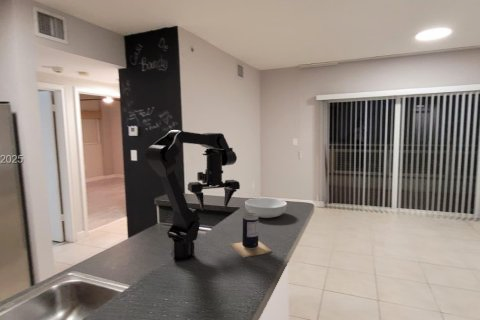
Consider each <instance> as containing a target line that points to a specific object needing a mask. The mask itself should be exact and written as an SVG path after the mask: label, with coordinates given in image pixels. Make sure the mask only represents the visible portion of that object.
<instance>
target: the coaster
mask: <svg viewBox="0 0 480 320" xmlns="http://www.w3.org/2000/svg"><path fill="white" fill-rule="evenodd" d="M230 247H231V248H233V250H235V251H236V252H237V253H238V254H239V255H240V256H241V257H242V258H247V257H252V256H258V255H264V254H269V253H272V252H273V251H272V249H271V248H269V247H268V246H266V245H265V244H264V243H262V242H261V241H260V240H258V246H257V247H256V248H255V249H252V250H250V249H246V248H245V247H244V246H243V245H242V241H241V242H235V243H230Z"/></svg>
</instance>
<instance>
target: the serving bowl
mask: <svg viewBox="0 0 480 320" xmlns="http://www.w3.org/2000/svg"><path fill="white" fill-rule="evenodd" d="M244 204H245V206H244V207H245V209H246V211H248V212H247V213H256V214H258V218H261V219H262V218H263V219H272V218H276V217H279V216H281V215H283V214H284V213H285V212H286V210H287V207H288V206H287V205H288V203H287V201H285V200H283V199H278V198H273V197H256V198H250V199H247V200H245V201H244Z"/></svg>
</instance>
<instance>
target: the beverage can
mask: <svg viewBox="0 0 480 320" xmlns="http://www.w3.org/2000/svg"><path fill="white" fill-rule="evenodd" d="M259 223H260V217H258V214H256V213H249V212H245V213H244V214H243V217H242V241H241V242H242V245H243V246H244V247H245V248H246V249H250V250H252V249H255V248H256V247H257V246H258V241H259V232H260V231H259V229H260V225H259Z"/></svg>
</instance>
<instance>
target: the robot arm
mask: <svg viewBox="0 0 480 320" xmlns="http://www.w3.org/2000/svg"><path fill="white" fill-rule="evenodd" d="M183 144H192V145H199V146H200V147H203V148H205V150H204V151H203V152H202V155H203V156H206V168H205V172H203V171H198V172H197V175H196V176H197V178H196V179H197V181H192V182H191V181H189V182H188V184H187V190H188V191H189V192H190V193H192V194H194V195H195V196H196V199H197V201H198V204H199V206H200V210H202V211H203V210H204V204H205V203H204V192H202V191H203V190H208V189H220V188H221V189H222V188H223V189H224V201H223V203H224V205H223V206H224V208H225V209H226V208H227V207H228V205H229V203H230V201H231V199H232V197H233V195H234V194H235V192H237V190H240V187H241V184H240V182H239V181H237V180H235V179H225V181H223V174H224V170H223V167H225V166H231V165H232V166H233V165H234V164H235V163H236V162H237V159H238V157H237V154H236V152H235V151H234V149H233V147H230V146H229V144H228V142H227V140H226V137H225V135H224V133H221V132H218V133H216V132H205V133H197V132H191V131H184V130H181V129H173V130H172V129H171V130H170V131H168V132H167V133H166V134H165V135H164V136H162V137H161V138H159V139H158V140H156V141H155V142H154V143H153V144H152V145H150V146H149V147H147V149H146V151H145V154H144V155H145V159H146V162H147V163H148V165H149V166H150V167H151V168H150V169H152V170H153V171H154V172H155V173H156V174H157V175H158V177H159V178H160V180H161V183H162V186H163V188H164V191H165V193H166V195H167V198H168V202H169V204H170V206H171V209H172V211H173V215H172V224H171V226H170V227H169V229H168V230H167V233H166V234H167V237H168V239H171V250H172V252H171V253H170V255H171V257H172V259H173V261H174V262H178V263H179V262H182V261H183V262H184V261H189V260H193V259H195V242H194V241H196V240H197V237H198V234H199V230H200V226H201V222H200V220H201V218H200V217H199V215H198V211H197V209H194V208H191V207H189V205H188V202H187V200H186V197H185V194H184V191H183V190H182V189H183V187H181V183H180V181H179V178H178V175H177V173H176V166H177V158H176V157H177V156H178V155H179V154H180V152H181V149H182V145H183Z"/></svg>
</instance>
